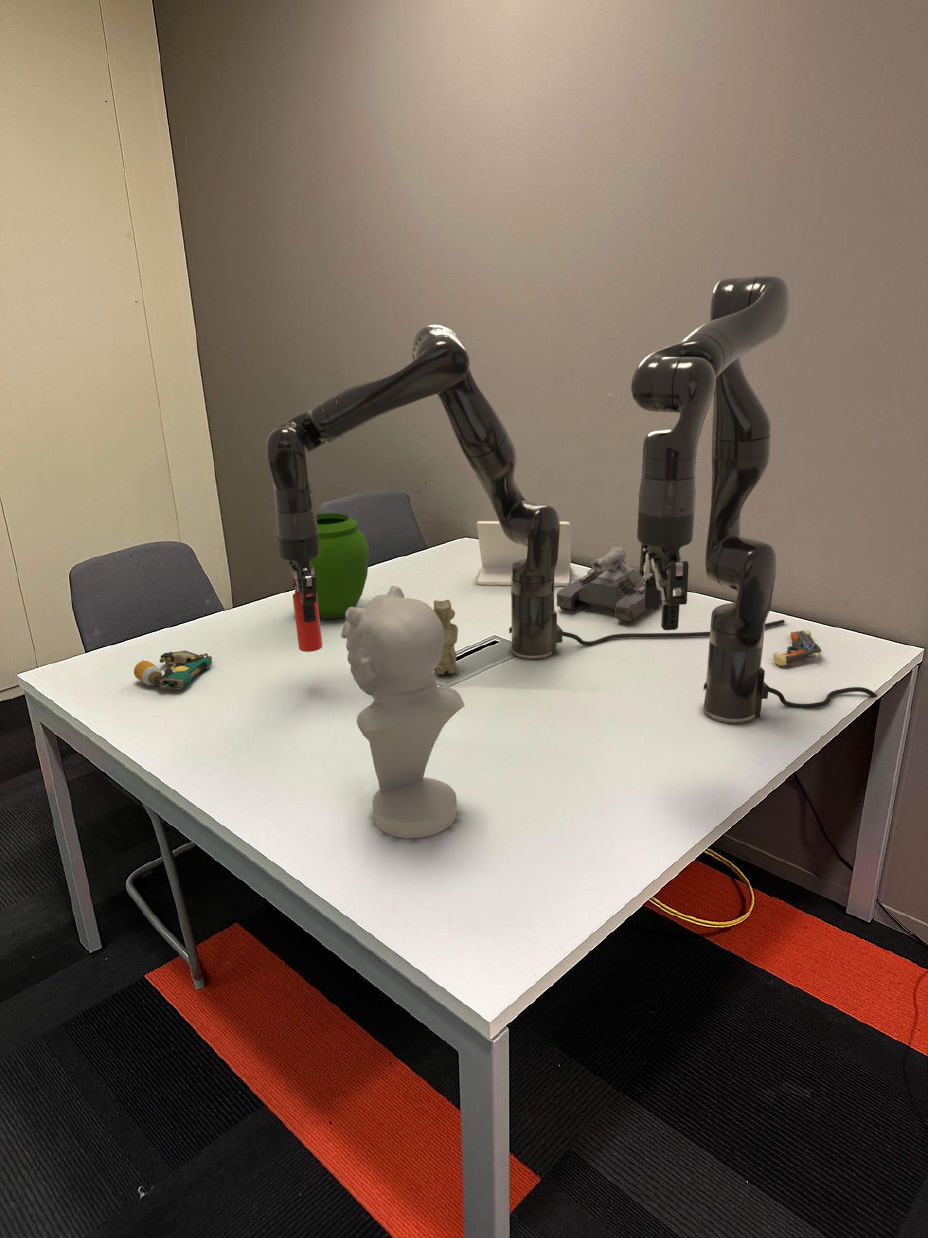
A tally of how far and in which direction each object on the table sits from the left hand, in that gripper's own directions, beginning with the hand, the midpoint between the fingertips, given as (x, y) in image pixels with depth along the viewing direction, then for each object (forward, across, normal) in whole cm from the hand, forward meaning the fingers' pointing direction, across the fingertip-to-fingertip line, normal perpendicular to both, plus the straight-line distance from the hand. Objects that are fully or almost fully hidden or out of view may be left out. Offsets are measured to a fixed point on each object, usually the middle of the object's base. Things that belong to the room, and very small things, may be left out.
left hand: (307, 616), depth 166 cm
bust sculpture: (+16, +47, +3) cm, 50 cm away
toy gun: (+17, +24, +99) cm, 103 cm away
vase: (+16, -42, +14) cm, 47 cm away
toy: (+17, -18, +80) cm, 84 cm away
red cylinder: (+7, 0, 0) cm, 7 cm away
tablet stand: (+17, -50, +70) cm, 88 cm away
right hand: (-13, +59, +41) cm, 73 cm away
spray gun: (+16, -19, -26) cm, 36 cm away
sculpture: (+16, +2, +27) cm, 32 cm away
